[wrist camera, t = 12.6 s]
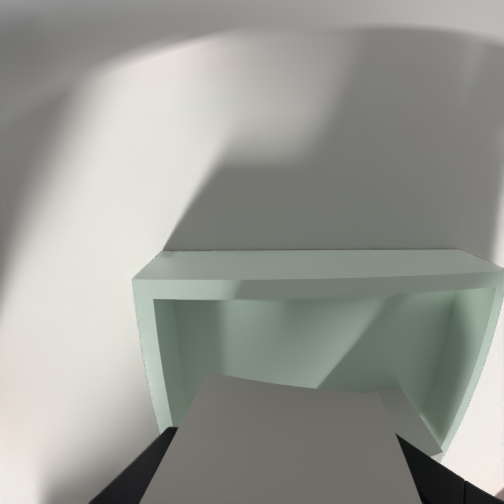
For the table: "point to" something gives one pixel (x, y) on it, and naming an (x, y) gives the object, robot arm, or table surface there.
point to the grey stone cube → (282, 448)
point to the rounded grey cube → (408, 421)
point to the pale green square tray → (320, 324)
